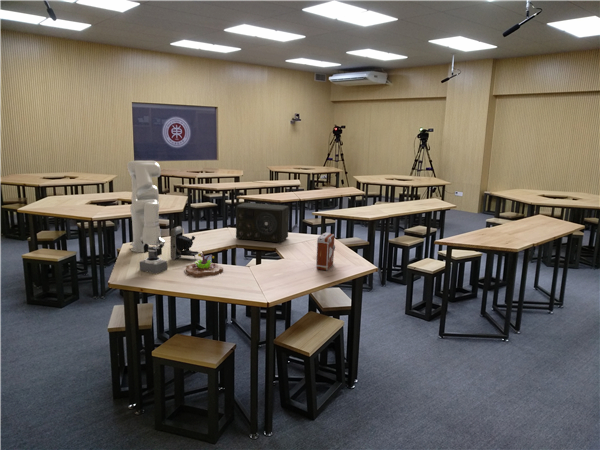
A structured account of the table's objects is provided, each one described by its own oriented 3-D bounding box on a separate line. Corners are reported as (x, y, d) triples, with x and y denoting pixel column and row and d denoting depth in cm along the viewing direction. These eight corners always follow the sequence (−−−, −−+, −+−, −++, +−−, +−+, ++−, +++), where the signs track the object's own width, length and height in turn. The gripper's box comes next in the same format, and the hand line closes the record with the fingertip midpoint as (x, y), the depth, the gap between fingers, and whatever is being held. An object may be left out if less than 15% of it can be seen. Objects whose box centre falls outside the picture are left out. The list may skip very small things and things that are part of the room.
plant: (180, 269, 255) (179, 251, 253) (211, 264, 267) (211, 246, 265) (194, 279, 240) (194, 259, 237) (227, 273, 251) (227, 254, 249)
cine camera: (337, 262, 277) (338, 231, 273) (329, 271, 259) (330, 238, 255) (323, 261, 280) (324, 230, 276) (313, 269, 262) (315, 236, 258)
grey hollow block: (139, 270, 251) (139, 259, 250) (151, 266, 259) (151, 255, 258) (155, 273, 246) (155, 262, 245) (167, 269, 254) (166, 258, 253)
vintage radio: (231, 239, 326) (231, 206, 321) (242, 234, 345) (242, 202, 339) (280, 244, 317) (281, 210, 311) (288, 238, 335) (289, 205, 330)
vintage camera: (193, 262, 270) (194, 230, 266) (169, 259, 273) (170, 227, 269) (199, 258, 279) (200, 227, 275) (177, 255, 282) (177, 224, 278)
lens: (146, 261, 250) (145, 247, 249) (153, 259, 255) (152, 245, 253) (153, 263, 248) (152, 249, 247) (160, 260, 253) (159, 247, 251)
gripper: (135, 223, 248) (136, 252, 251) (158, 227, 240) (159, 257, 244) (145, 220, 254) (146, 249, 258) (168, 224, 247) (169, 254, 251)
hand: (152, 253), depth 251 cm, fingers open, 9 cm apart
